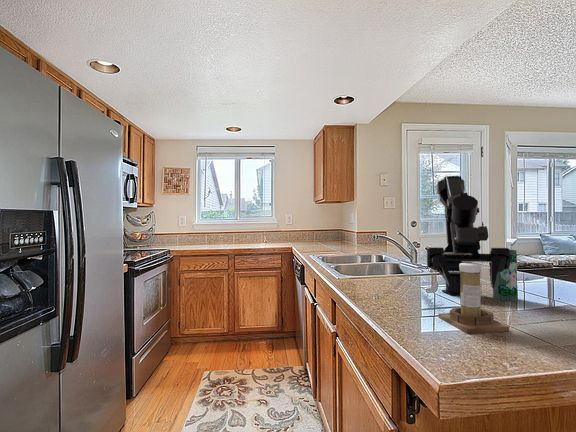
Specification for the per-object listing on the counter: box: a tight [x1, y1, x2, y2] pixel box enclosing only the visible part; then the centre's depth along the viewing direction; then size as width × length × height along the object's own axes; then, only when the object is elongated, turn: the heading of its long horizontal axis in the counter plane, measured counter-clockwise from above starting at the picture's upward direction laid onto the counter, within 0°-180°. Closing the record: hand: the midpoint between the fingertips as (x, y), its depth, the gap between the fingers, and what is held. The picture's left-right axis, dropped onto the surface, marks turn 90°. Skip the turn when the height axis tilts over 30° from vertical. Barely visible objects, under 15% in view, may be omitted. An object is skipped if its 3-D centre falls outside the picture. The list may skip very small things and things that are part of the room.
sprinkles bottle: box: [458, 262, 482, 317], centre depth 82 cm, size 5×5×14 cm
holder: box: [437, 306, 510, 334], centre depth 81 cm, size 12×10×3 cm
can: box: [492, 249, 519, 303], centre depth 103 cm, size 6×6×15 cm
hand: (471, 286), depth 80 cm, fingers open, 9 cm apart
